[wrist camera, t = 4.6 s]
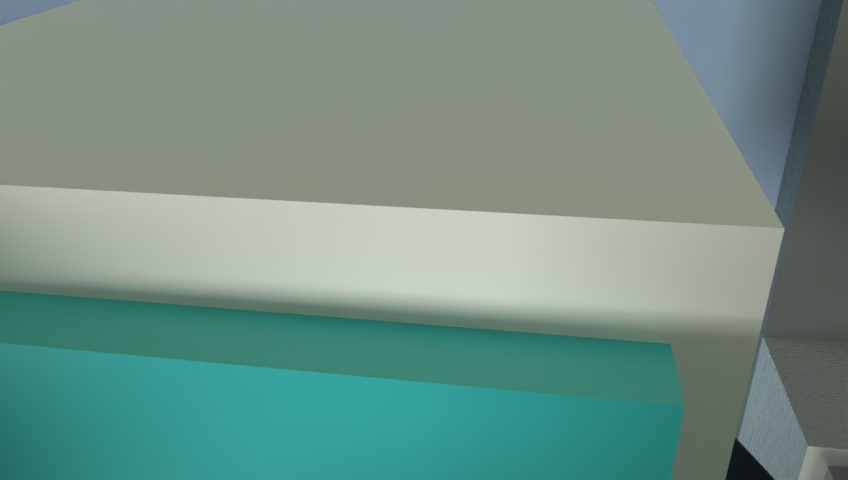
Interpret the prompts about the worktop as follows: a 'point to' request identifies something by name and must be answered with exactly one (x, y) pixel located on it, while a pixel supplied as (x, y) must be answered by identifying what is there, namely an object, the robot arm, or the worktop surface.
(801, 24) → the worktop surface
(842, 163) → the rail
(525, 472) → the loose module
